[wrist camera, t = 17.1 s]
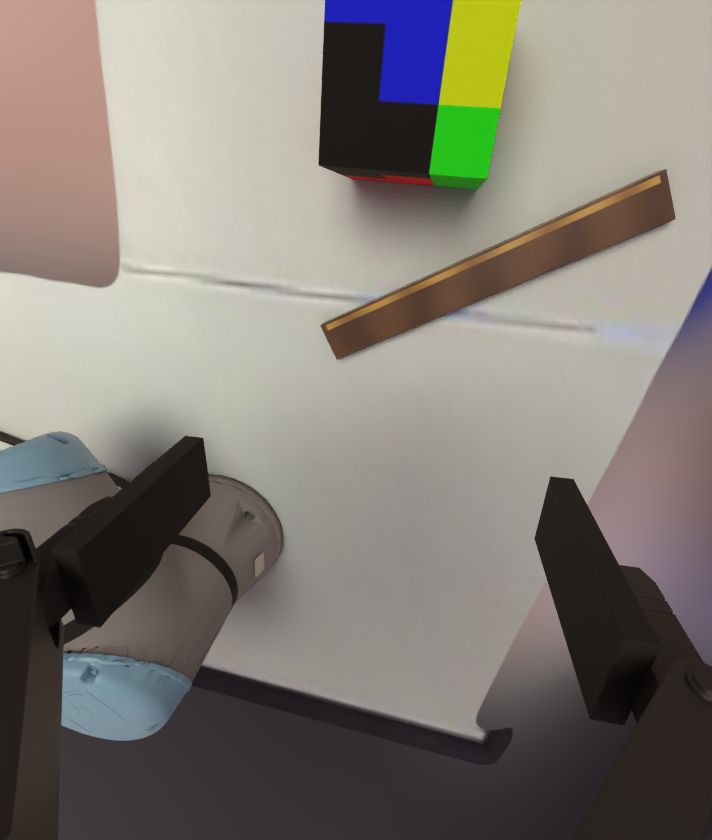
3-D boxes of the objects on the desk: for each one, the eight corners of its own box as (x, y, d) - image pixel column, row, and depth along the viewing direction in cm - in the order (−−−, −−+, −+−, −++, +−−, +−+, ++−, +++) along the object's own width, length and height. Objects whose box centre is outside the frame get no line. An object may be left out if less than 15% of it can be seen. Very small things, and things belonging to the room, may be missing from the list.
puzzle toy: (363, 18, 31) (327, -65, 22) (507, 23, 29) (533, -64, 20) (351, 178, 35) (318, 165, 26) (477, 189, 34) (487, 178, 25)
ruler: (339, 356, 41) (336, 360, 40) (323, 322, 40) (319, 325, 39) (668, 219, 32) (676, 219, 31) (658, 170, 31) (667, 168, 30)
